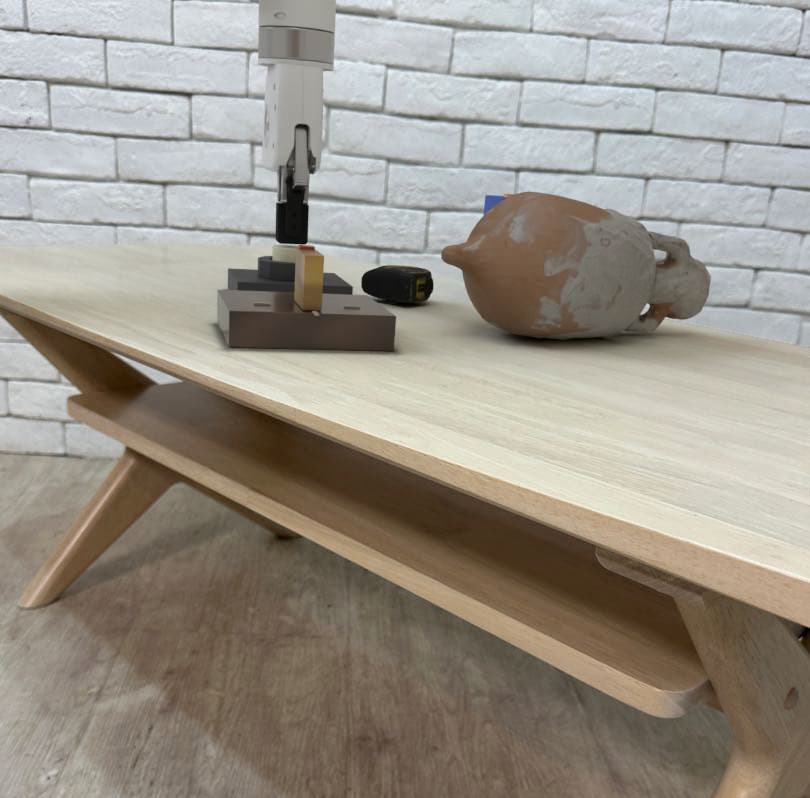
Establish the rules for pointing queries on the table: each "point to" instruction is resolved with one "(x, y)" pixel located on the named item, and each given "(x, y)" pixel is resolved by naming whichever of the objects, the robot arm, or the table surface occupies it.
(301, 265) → the gold rectangular block
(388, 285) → the tape measure
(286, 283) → the dark grey stepped block
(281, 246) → the bell button
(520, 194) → the amphora
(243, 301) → the plate
